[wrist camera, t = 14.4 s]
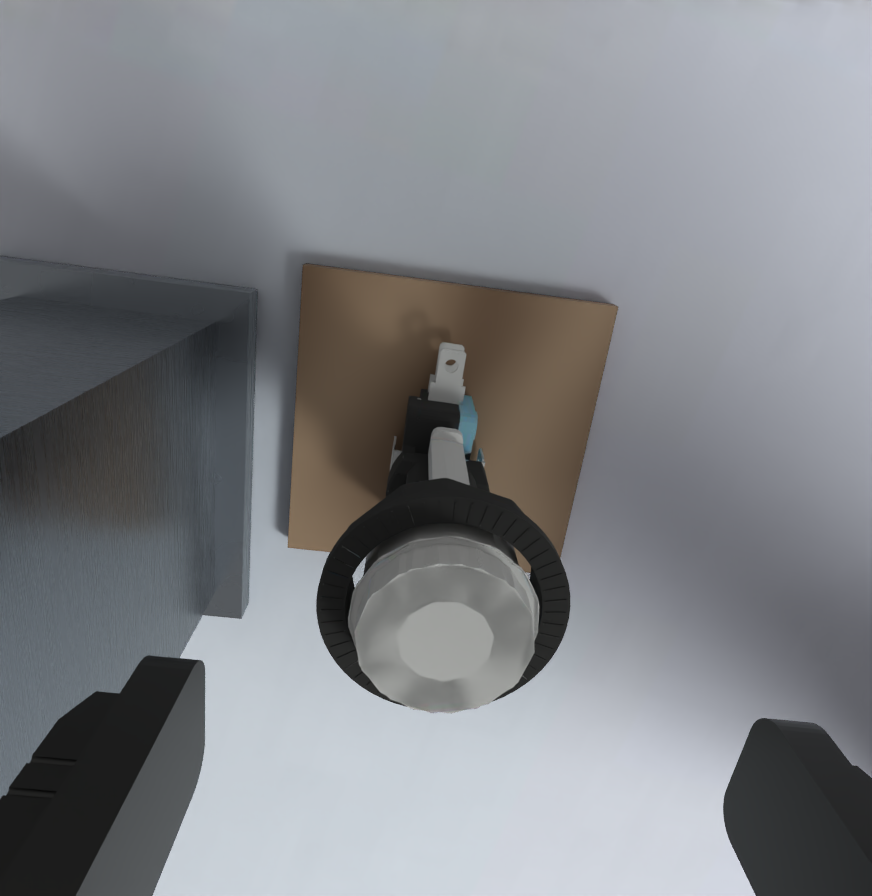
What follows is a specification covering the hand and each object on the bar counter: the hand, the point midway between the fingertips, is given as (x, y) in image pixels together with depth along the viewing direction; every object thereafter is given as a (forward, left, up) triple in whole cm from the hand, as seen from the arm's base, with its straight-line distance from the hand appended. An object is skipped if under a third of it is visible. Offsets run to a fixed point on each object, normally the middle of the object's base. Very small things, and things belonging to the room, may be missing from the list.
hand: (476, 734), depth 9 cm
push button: (0, 0, -13) cm, 13 cm away
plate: (0, 0, -14) cm, 14 cm away
